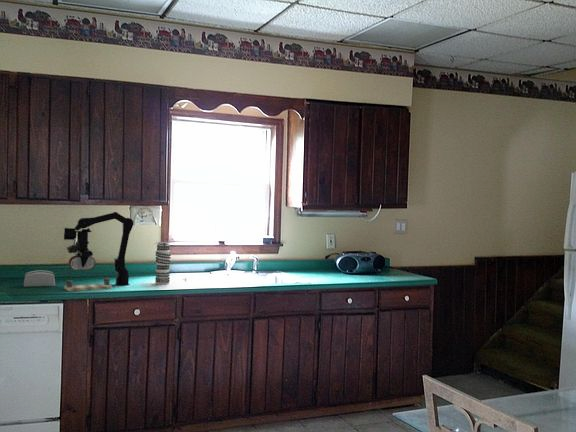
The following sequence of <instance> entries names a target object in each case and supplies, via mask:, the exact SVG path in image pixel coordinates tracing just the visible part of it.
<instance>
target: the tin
mask: <svg viewBox="0 0 576 432" xmlns="http://www.w3.org/2000/svg"><path fill="white" fill-rule="evenodd" d="M67 263H68V267H69V268H70V270H73V271H91V270H93V269H94V268H95V267H96V259H95V258H94V257H93V256H89V258H88V260H87V262H86V264H85V266H84V267H82V265H81V258H80V257H79V256H76V255H73V256H71V257H70V258H69V260H68V262H67Z"/></svg>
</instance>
